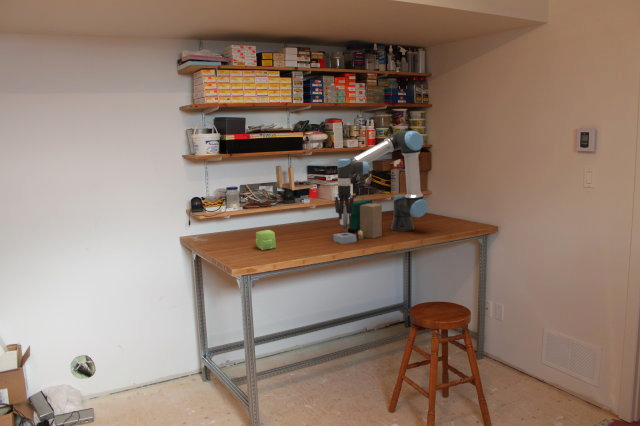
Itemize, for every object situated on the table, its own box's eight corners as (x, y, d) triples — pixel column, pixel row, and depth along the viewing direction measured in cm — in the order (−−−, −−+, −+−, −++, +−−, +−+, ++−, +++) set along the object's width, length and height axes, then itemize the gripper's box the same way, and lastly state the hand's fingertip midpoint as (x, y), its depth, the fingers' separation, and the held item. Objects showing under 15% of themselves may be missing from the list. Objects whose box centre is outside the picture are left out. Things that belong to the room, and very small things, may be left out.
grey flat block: (347, 238, 319) (347, 232, 318) (356, 241, 310) (356, 235, 309) (333, 240, 314) (333, 234, 313) (342, 243, 305) (342, 237, 305)
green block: (252, 246, 307) (250, 230, 306) (268, 243, 311) (266, 228, 310) (261, 251, 291) (259, 235, 289) (277, 249, 295) (276, 232, 293)
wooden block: (368, 234, 331) (368, 203, 328) (382, 235, 325) (382, 204, 322) (359, 236, 324) (359, 205, 320) (373, 238, 317) (373, 206, 314)
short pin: (361, 237, 321) (361, 230, 320) (364, 238, 318) (364, 230, 317) (357, 238, 319) (357, 230, 318) (359, 239, 316) (359, 231, 315)
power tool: (370, 226, 358) (369, 197, 354) (379, 227, 354) (379, 198, 351) (346, 234, 332) (345, 203, 329) (355, 235, 328) (355, 204, 325)
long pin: (345, 227, 313) (345, 204, 310) (348, 228, 310) (347, 205, 308) (340, 228, 311) (340, 205, 309) (343, 229, 308) (343, 205, 306)
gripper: (352, 183, 313) (352, 221, 317) (329, 185, 306) (329, 224, 309) (359, 184, 307) (359, 223, 311) (335, 186, 299) (335, 226, 303)
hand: (344, 224), depth 310 cm, fingers closed on long pin, 3 cm apart
